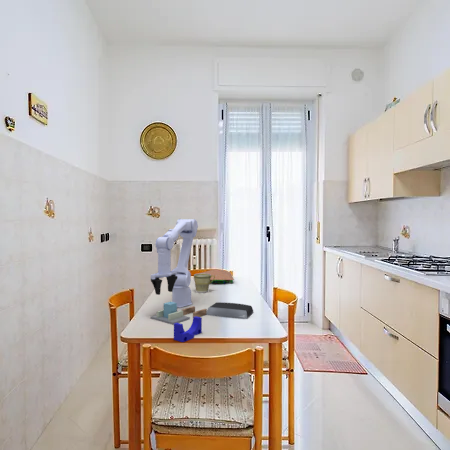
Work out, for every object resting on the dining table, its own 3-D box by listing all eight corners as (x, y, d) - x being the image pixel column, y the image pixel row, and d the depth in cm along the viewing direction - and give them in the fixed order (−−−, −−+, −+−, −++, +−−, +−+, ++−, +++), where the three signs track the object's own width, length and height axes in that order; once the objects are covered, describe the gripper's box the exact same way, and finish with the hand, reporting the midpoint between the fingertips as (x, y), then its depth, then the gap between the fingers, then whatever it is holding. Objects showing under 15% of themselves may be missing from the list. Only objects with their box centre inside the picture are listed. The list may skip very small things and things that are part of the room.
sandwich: (198, 285, 229) (199, 272, 229) (199, 276, 262) (199, 265, 262) (234, 285, 231) (234, 272, 231) (230, 276, 264) (230, 265, 264)
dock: (167, 313, 163) (167, 306, 163) (189, 319, 154) (189, 311, 154) (150, 318, 155) (150, 310, 155) (173, 324, 146) (173, 316, 146)
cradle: (193, 311, 166) (193, 306, 166) (206, 314, 162) (206, 309, 162) (181, 315, 160) (181, 309, 160) (194, 318, 155) (194, 312, 155)
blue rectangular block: (170, 315, 157) (170, 301, 157) (176, 316, 155) (176, 303, 155) (163, 317, 154) (163, 303, 154) (170, 318, 152) (170, 304, 151)
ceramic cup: (196, 294, 202) (197, 276, 202) (191, 290, 212) (191, 274, 211) (218, 292, 208) (218, 275, 207) (211, 289, 217) (211, 272, 217)
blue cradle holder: (182, 342, 126) (182, 326, 126) (173, 340, 129) (173, 323, 129) (204, 333, 136) (204, 318, 136) (195, 331, 139) (195, 316, 138)
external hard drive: (246, 320, 154) (246, 311, 154) (205, 316, 161) (205, 307, 160) (254, 313, 167) (254, 304, 167) (215, 309, 173) (215, 300, 173)
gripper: (158, 265, 154) (158, 297, 154) (181, 262, 165) (181, 291, 166) (147, 264, 158) (147, 294, 158) (171, 261, 170) (171, 289, 170)
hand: (164, 293), depth 162 cm, fingers open, 7 cm apart
